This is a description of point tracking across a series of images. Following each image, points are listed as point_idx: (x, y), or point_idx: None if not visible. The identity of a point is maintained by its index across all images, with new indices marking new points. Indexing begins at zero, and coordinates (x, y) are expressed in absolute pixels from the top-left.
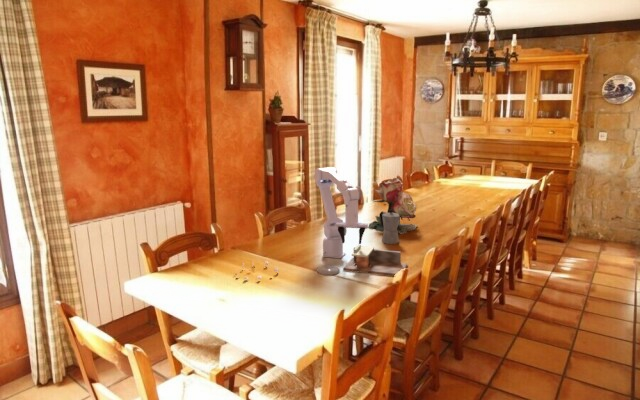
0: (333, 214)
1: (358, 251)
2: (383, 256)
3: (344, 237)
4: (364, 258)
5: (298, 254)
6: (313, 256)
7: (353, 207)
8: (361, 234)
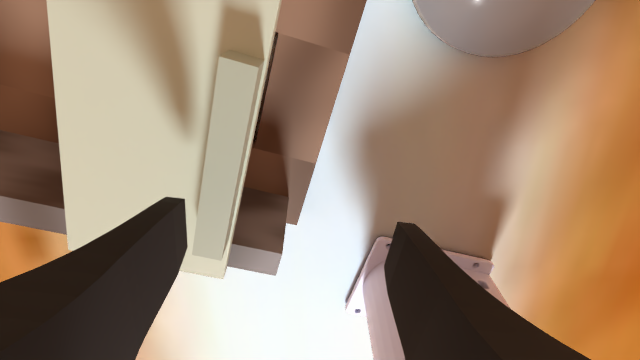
0: None
1: (207, 108)
2: (8, 162)
3: (397, 320)
4: None
5: (628, 289)
6: (546, 264)
7: None
8: (19, 289)
